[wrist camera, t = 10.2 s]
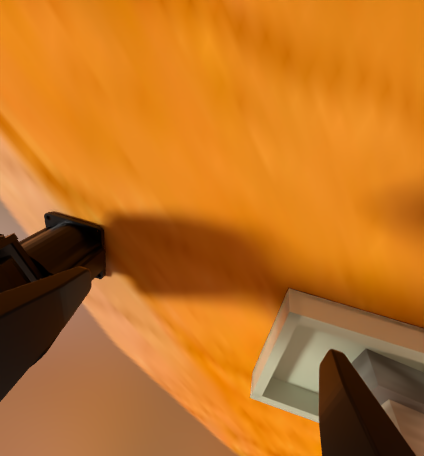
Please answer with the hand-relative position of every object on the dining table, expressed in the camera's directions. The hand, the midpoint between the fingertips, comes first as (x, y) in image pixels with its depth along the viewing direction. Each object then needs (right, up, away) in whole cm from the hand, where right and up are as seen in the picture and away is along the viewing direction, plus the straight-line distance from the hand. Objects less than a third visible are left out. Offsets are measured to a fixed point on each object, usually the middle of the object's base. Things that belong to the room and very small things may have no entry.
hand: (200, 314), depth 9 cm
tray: (+14, -10, +16) cm, 24 cm away
